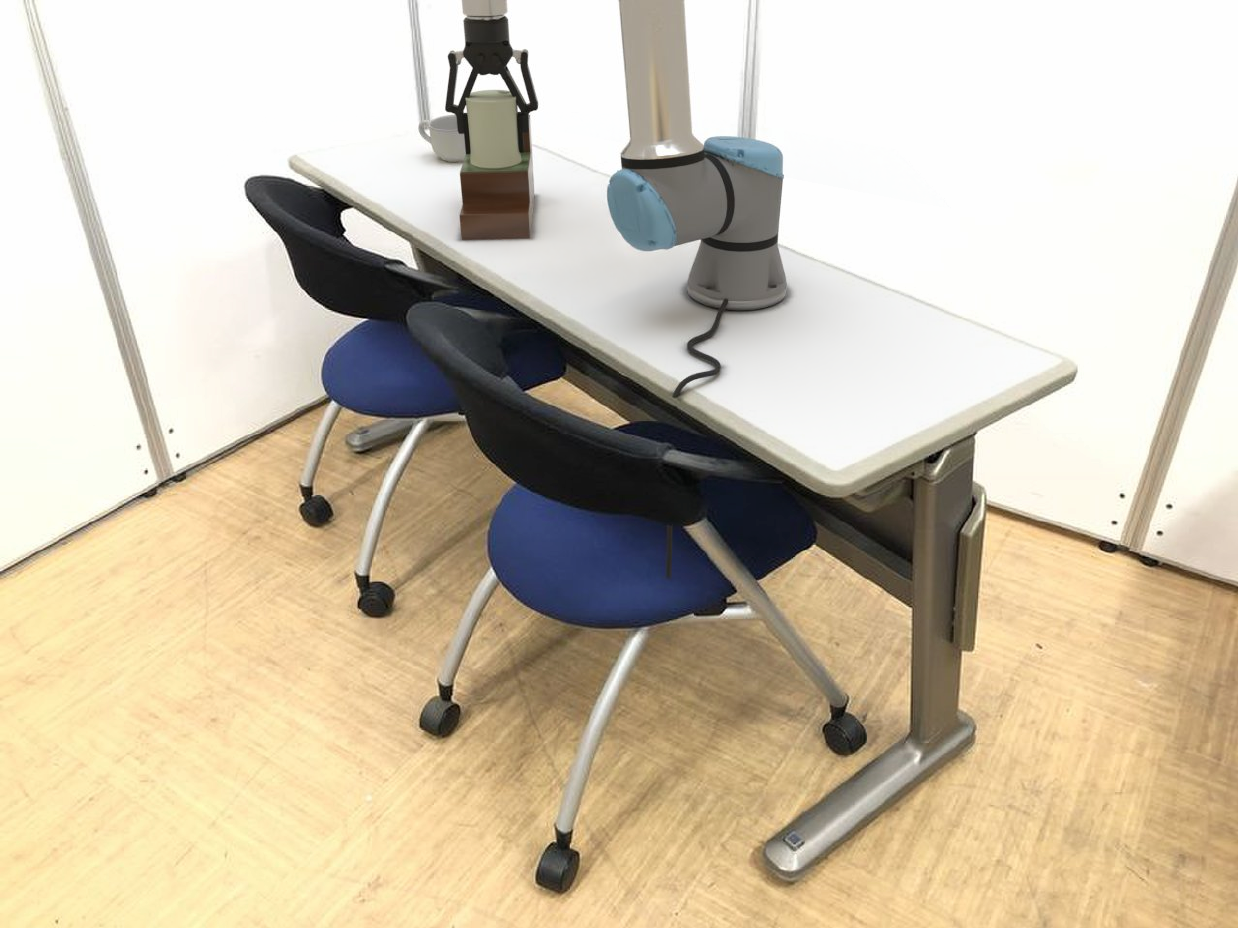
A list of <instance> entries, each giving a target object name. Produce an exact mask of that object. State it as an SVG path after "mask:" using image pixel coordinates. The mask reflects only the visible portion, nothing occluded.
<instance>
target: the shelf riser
mask: <svg viewBox="0 0 1238 928" xmlns="http://www.w3.org/2000/svg"><path fill="white" fill-rule="evenodd" d="M531 123H532V122H531V114H529V131H528V132H527V133H523V134H524V153H520V155H521V159H522V160H521V162H520V163H519V164H518V165H515V166H512V167H508V168H500V169H485V168H479V167H475V166H473V165H472V164H471V163H470V160H471V155H470V154H466V155H465V159H464V161H462V165H461V168H460V172H459V181H460V191H461V201H462V205H461V209H460V212H459V224H460V235H461V241H475V240H477V241H478V240H517V239H518V240H521V239H524V240H525V239H531V235H532V234H531V233H532V224H533V214H534V203H535V179H534V161H533V142H532V140H533V139H532V124H531ZM464 140H465V138H464ZM465 151H466V149H465Z"/></svg>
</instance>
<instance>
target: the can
mask: <svg viewBox="0 0 1238 928" xmlns="http://www.w3.org/2000/svg"><path fill="white" fill-rule="evenodd" d="M465 109H466V113H467V118H468V129H469V141H470V155H471V160H470V163H471V164H472V165H473V166H475V167H479V168H485V169H500V168H508V167H512V166H515V165H518V164H519V163H520V162H521V160H522V159H521V155H520V152H519V136H518V120H517V114H518V112H519V110H518V109H519V107H518V105H517V104H516V97H513V96H512V94H511V93H510V91H509V90H505V89H484V90H483V89H482V90H476V91H473V92H472V91H471V93H470V96H469V98H466V106H465Z"/></svg>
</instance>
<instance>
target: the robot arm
mask: <svg viewBox="0 0 1238 928" xmlns="http://www.w3.org/2000/svg"><path fill="white" fill-rule="evenodd" d="M685 5H686V4H685V0H618V12H619V21H620V23H619V24H620V34H621V47H622V59H623V70H624V71H623V72H624V83H625V93H626V106H627V119H628V129H629V141H628V142H627V144H626V145H625V147H624V148H623V149H622V150H621V152H619V153H620V167H621V169H619V170H617V171H616V172H614V173H613V174H612V175H611V177H610V178H609V181H608V182H609V183H608V185H607V186H606V187H607V188H606V199H607V200H606V201H607V206H608V211H609V214H610V217H611V219H612V223H613V224H614V226H615V229H616V230H617V231H618V233H619V234H620V235H621V237H622V238H623V240H624V241H625V242H626V243H627V244H628V245H630V246H631V247H633V248H634V249H635V250H638V251H641V252H647V253H648V252H654V251H659V250H666V251H667V250H669V249H670V250H671V249H673V248H674V247H677V246H681V245H685V244H688V243H692V242H696V241H700V243H699V247H698V249H697V251H696V255H695V257H694V259H693V263H692V266H691V268H690V270H689V274H688V278H687V289H686V290H687V293H688V295H689V296H690V298H691V299H693V300H694V301H696V302H698V303H699V304H702V305H705V306H707V307H709V308H710V307H711V308H714V309H718V311H717V313H716V316H715V319H714V321H713V324H712V325H711V328H710V329H708V330H707V331H706V332H704V333H702V334H699V335H697V336H694V337H692V338H691V339H689V340H688V342H687V343H686V349H687V350H688V352H689V353H690V354H692V355H694V356H695V357H698V358H700V359H703V360H705V361H707V362H709V363H711V364H713V365H714V368H713V369H710V370H706V371H701V372H697V373H693V374H690V375H688V376H687V377H685V378H683V379H682V380H681V381H680V382H679V383H678V384H677V386H676V387H675V389H674V391H673V394H672V398H673V399H677V398H679V396H680V393H681V392H682V390H683V389H684V387H685V386H687V385H688V384H689V383H691V382H693V381H696V380H698V379H703V378H709V377H713V376H715V375H718V373H720V371H721V369H722V365H721V363H720V361H719V360H718V359H716V358H715V357H713V356H711V355H709V354H707V353H705V352H702V351H699V350H698V349H696V348H695V347H694V346H693V345H694V344H696V343H697V342H698V343H699V342H700V341H704V340H705V339H707V338H709V337H711V336H712V335H714V334H715V332H716V331H717V330H718V328H719V325H720V322H721V319H722V316H723V314H724V312H725V310H728V311H752V310H759V309H764V308H768V307H771V306H774V305H777V304H778V303H780V302H781V301H782V300H784V299H785V298H786V295H787V287H788V286H787V285H788V283H787V276H786V272H785V268H784V264H783V260H782V256H781V253H780V249H779V244H778V243H779V231H780V216H781V208H782V207H781V205H782V196H783V195H782V193H783V183H784V179H785V175H784V156H783V153H782V151H781V149H780V148H779V147H777V146H776V145H774V144H772V143H769V142H767V141H765V140H764V141H763V140H760V139H754V138H749V137H742V136H733V135H732V136H730V135H719V136H711V137H708V138H707V139H706V140H705V141H704V143H702V142H701V141H700V140H699V139H698V138H696V137H695V135H694V133H693V126H692V125H693V124H692V122H693V121H692V107H691V90H690V72H689V71H690V70H689V56H688V40H687V39H688V38H687V22H686V6H685ZM461 9H462V15H464V16H466V17H464V19H463V21H462V22H463V32H464V48H463V50H457V51H455V50H450V51H449V52H448V53H447V61H448V65H449V72H448V81H447V88H446V89H447V90H446V98H445V106H444V111H445V112H447V113H451V114H453V115H456V118H457V129H458V133H459V134H464V138H465V149H466V154H470V141H469V129H468V118H467V112H465V109H466V98H469V96H470V93H472V91H473V88H474V85H475V83H476V80H477V78H478V76H487V75H492V76H500V77H501V79H502V80H503V81H504V84H505V86H506V87H507V89H508V91H510V93H511V94H512V96H513V97H516V104H517V107H518V109H519V111H518V114H517V120H518V136H519V152H520V153H524V134H523V133H527V132H528V131H529V115H530V114H531V112H534V111H537V110H538V109H539V100H538V97H537V94H536V90H535V86H534V82H533V78H532V74H531V70H530V66H529V51H528V49H526V48H524V49H522V50H520V49H514V48H513V47H512V45H511V41H510V27H509V26H510V25H509V18H508V17H507V16H506V15H507V13H508V12H509V11H508V9H509V8H508V0H461ZM512 58H514V59H515V62H516V63H517V64H518V65H520V72H521V77H522V79H523V82H524V87H525V90H526V94H527V97H528V101H529V102H528V103H527V101H526V100H525V98H524V96H523V94H522V93H521V90H520V89H519V86H518V85H517V82H516V81H515V79H514V77H513V76H512V74H511V71H510V70H509V68H508V64H509V63H510V61H511V59H512ZM463 59H464V60H466V61H467V63H468V64H469V66H470V67H471V68H472V69H471V71H470V74H469V75H468V76H469V77H468V78H467V81H466V84H465V86H464V89H463V92H462V94H461V97H460V99H459V102H458V104H455V96H456V88H457V80H458V73H459V72H458V71H459V66H460V65H461V64H462V62H463V61H462V60H463ZM672 561H673V525H672V526H670V525H667V524H666V564H665V565H666V567H665V568H666V569H665V570H666V572H665V578H666V579H667V580H670V579H672V566H673V565H672V564H673V562H672Z"/></svg>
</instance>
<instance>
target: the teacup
mask: <svg viewBox="0 0 1238 928" xmlns="http://www.w3.org/2000/svg"><path fill="white" fill-rule="evenodd" d="M425 126H428V128H429V134H427V132H426V131H425ZM418 133H419V135H420V137H422V138H423V139H424V140H425V142H427V143H429V145H431V148H432V151H433V153H434V154H435V155H436V156H437V157H438V158H440V159H441V160H442V161H444V162H449V163H461V162H462V163H463V162H464V159H465V155H466V151H465V140H464V134H459V133H458V129H457V118H456V115H455V114H447V115H442V116H438V117H435V118H433V119H423V120H421V121H420V122H419V124H418Z"/></svg>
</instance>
